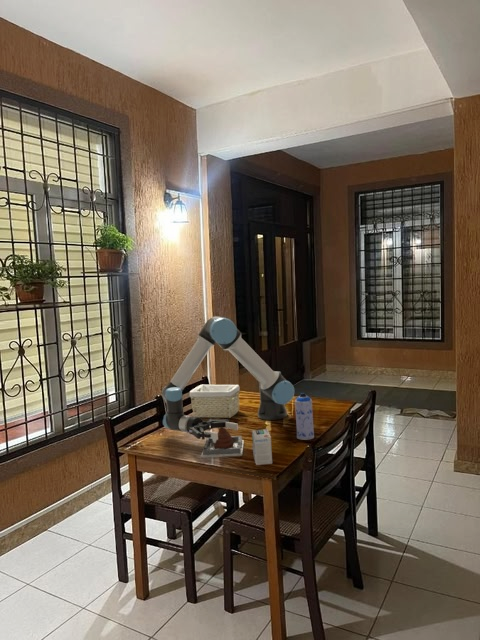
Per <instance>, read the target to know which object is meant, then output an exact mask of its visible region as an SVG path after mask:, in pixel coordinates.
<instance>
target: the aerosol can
mask: <svg viewBox="0 0 480 640" xmlns="http://www.w3.org/2000/svg"><path fill="white" fill-rule="evenodd" d="M294 406H295V407H294V409H295V420H296V421H295V422H296V424H295V425H296V439H298V440H301V441H302V440H305V441H307V440H312V439H314V438H315V432H314V415H313V400H312V398H311V397H310V396H308V395H306V392H300V395H298V396H297V398H296V399H294Z"/></svg>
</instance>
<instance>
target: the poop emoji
mask: <svg viewBox="0 0 480 640" xmlns="http://www.w3.org/2000/svg"><path fill="white" fill-rule="evenodd" d="M217 433H218V440H215V439H212V441H213V442H214V447H215V449H220V448H232V446H233V444H234V442H233V439H232V437H231V436H232V435H231V434H230V433H229V431H228V430H227V428H226V427H220V428H219V430H218V432H217Z"/></svg>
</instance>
